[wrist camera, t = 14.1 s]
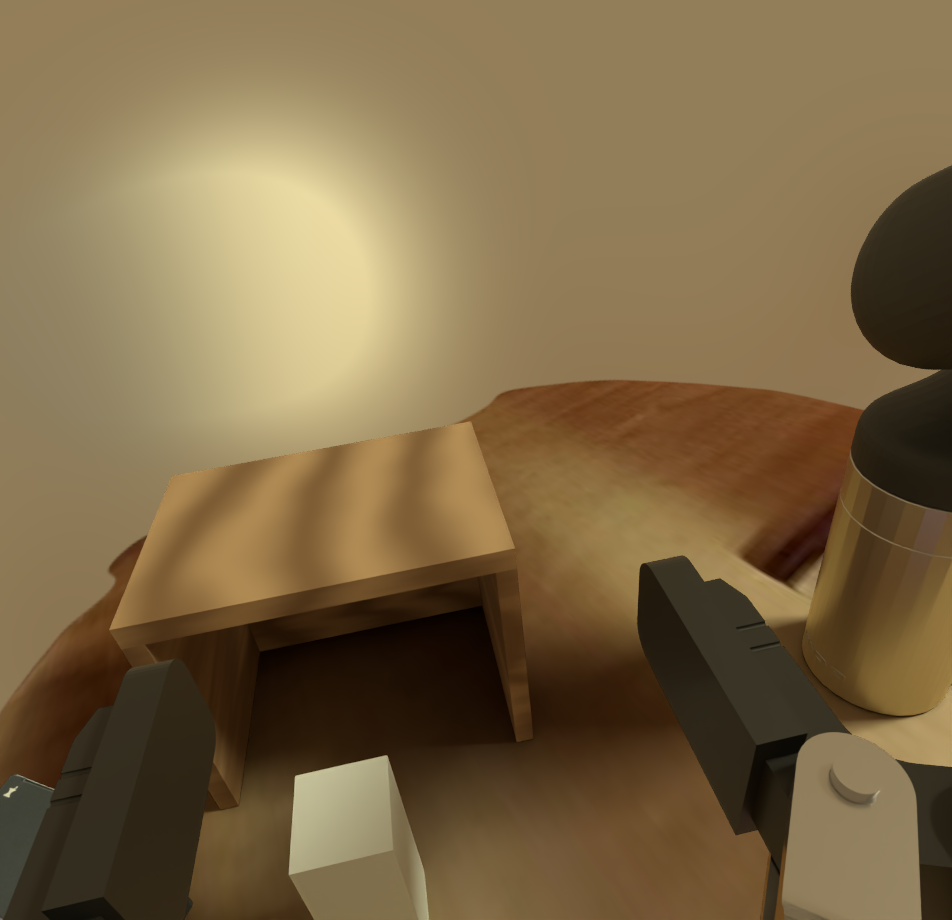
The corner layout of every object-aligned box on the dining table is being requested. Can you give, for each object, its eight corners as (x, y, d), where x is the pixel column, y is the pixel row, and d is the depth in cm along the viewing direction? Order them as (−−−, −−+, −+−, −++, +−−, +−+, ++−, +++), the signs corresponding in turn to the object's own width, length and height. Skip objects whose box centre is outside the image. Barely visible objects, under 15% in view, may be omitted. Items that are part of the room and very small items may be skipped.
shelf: (493, 592, 56) (470, 421, 47) (533, 738, 44) (514, 548, 35) (247, 643, 54) (171, 476, 45) (220, 810, 42) (109, 630, 33)
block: (424, 871, 38) (387, 755, 31) (433, 960, 34) (393, 850, 28) (349, 889, 38) (295, 775, 31) (349, 981, 34) (288, 875, 27)
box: (21, 965, 36) (-90, 877, 30) (99, 862, 40) (15, 768, 35) (126, 1020, 33) (26, 935, 28) (197, 903, 38) (125, 808, 32)
